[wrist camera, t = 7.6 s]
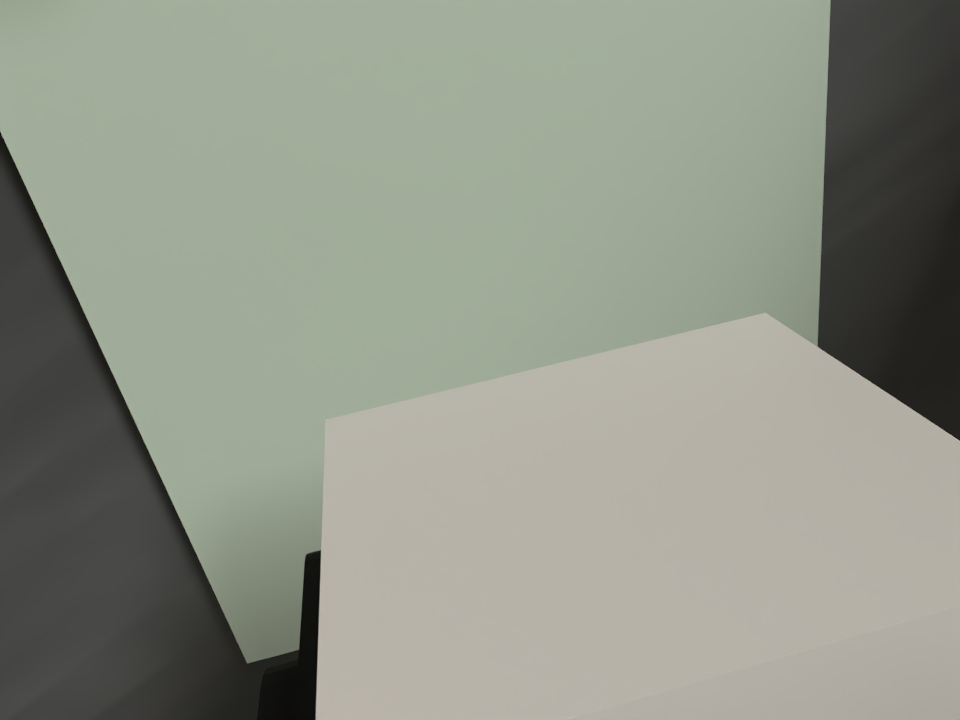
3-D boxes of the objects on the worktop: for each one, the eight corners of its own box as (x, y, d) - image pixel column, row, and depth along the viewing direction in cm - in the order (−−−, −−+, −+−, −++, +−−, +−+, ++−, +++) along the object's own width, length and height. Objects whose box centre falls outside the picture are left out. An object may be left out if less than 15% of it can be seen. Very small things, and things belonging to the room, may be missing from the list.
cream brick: (765, 313, 10) (1133, 555, 5) (765, 631, 12) (1010, 975, 8) (325, 419, 9) (314, 792, 5) (423, 728, 12) (476, 1155, 7)
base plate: (808, -162, 16) (836, -172, 15) (793, 494, 24) (811, 513, 23) (-37, -1, 14) (-62, -3, 13) (251, 637, 22) (247, 663, 21)
